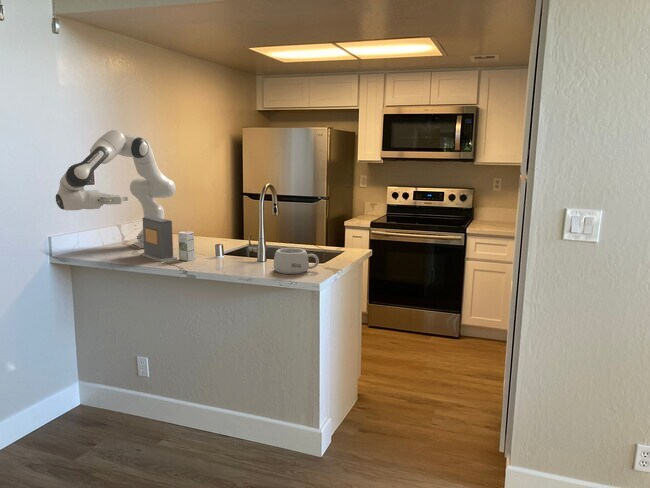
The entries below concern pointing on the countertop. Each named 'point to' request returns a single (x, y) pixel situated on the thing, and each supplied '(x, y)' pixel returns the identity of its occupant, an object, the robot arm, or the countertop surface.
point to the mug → (293, 261)
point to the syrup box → (186, 246)
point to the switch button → (151, 235)
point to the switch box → (159, 239)
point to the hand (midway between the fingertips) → (123, 197)
